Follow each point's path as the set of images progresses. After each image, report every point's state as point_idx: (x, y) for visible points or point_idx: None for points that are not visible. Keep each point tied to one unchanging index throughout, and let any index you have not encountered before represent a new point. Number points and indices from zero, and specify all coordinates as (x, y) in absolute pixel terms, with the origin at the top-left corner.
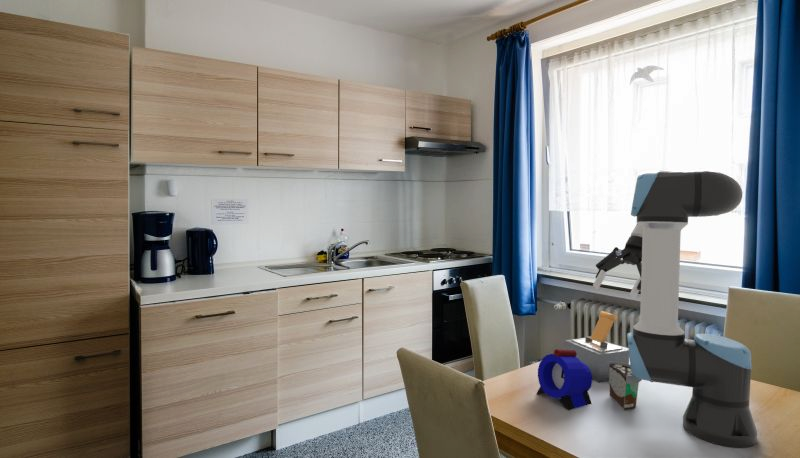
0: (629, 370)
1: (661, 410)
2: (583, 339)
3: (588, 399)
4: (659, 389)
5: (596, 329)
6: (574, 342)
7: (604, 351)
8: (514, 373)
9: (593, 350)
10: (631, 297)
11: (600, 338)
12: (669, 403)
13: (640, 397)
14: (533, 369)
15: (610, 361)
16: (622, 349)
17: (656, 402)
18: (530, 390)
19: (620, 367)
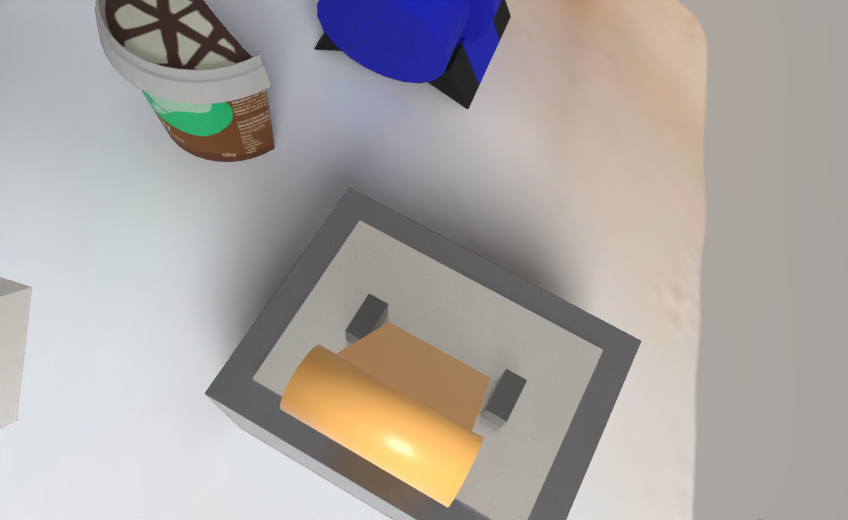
0: (153, 37)
1: (65, 132)
2: (546, 416)
3: (325, 33)
4: (75, 360)
5: (461, 388)
6: (569, 329)
7: (340, 252)
8: (693, 142)
9: (405, 239)
10: (13, 355)
11: (401, 335)
12: (31, 217)
13: (154, 207)
14: (666, 235)
15: (253, 57)
16: (250, 381)
17: (86, 195)
18: (543, 32)
19: (200, 52)
